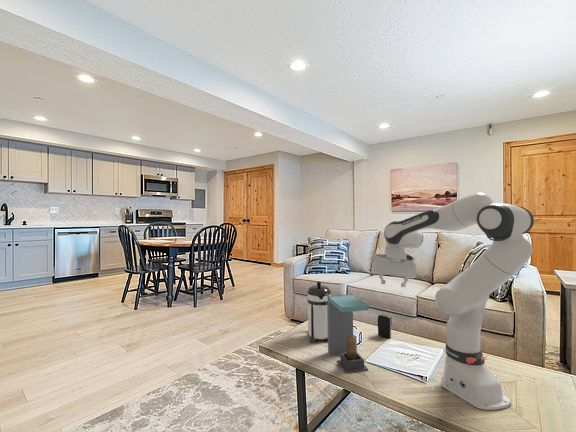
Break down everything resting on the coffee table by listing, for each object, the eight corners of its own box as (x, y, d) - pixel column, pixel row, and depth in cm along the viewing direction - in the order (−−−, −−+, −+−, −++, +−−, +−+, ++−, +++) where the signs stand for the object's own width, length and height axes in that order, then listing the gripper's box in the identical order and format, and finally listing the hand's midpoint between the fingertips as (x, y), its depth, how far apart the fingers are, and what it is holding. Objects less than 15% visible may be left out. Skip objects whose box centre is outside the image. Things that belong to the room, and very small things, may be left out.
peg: (358, 366, 126) (358, 337, 126) (350, 367, 125) (349, 338, 125) (354, 361, 130) (353, 334, 130) (345, 362, 129) (345, 335, 129)
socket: (368, 370, 124) (368, 360, 124) (345, 373, 122) (345, 363, 121) (357, 359, 133) (357, 350, 133) (336, 361, 131) (336, 352, 131)
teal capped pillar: (369, 369, 125) (368, 305, 125) (342, 372, 122) (341, 307, 122) (351, 349, 142) (351, 294, 142) (328, 352, 140) (327, 295, 140)
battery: (392, 336, 157) (392, 315, 157) (390, 338, 154) (390, 317, 154) (379, 333, 162) (379, 312, 162) (377, 335, 159) (377, 314, 158)
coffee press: (340, 337, 157) (340, 281, 157) (321, 346, 146) (320, 286, 146) (316, 328, 170) (315, 276, 169) (296, 336, 159) (295, 281, 158)
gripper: (374, 251, 137) (372, 281, 134) (418, 258, 137) (417, 288, 133) (370, 253, 143) (368, 282, 140) (412, 259, 143) (411, 288, 139)
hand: (393, 285), depth 137 cm, fingers open, 8 cm apart
